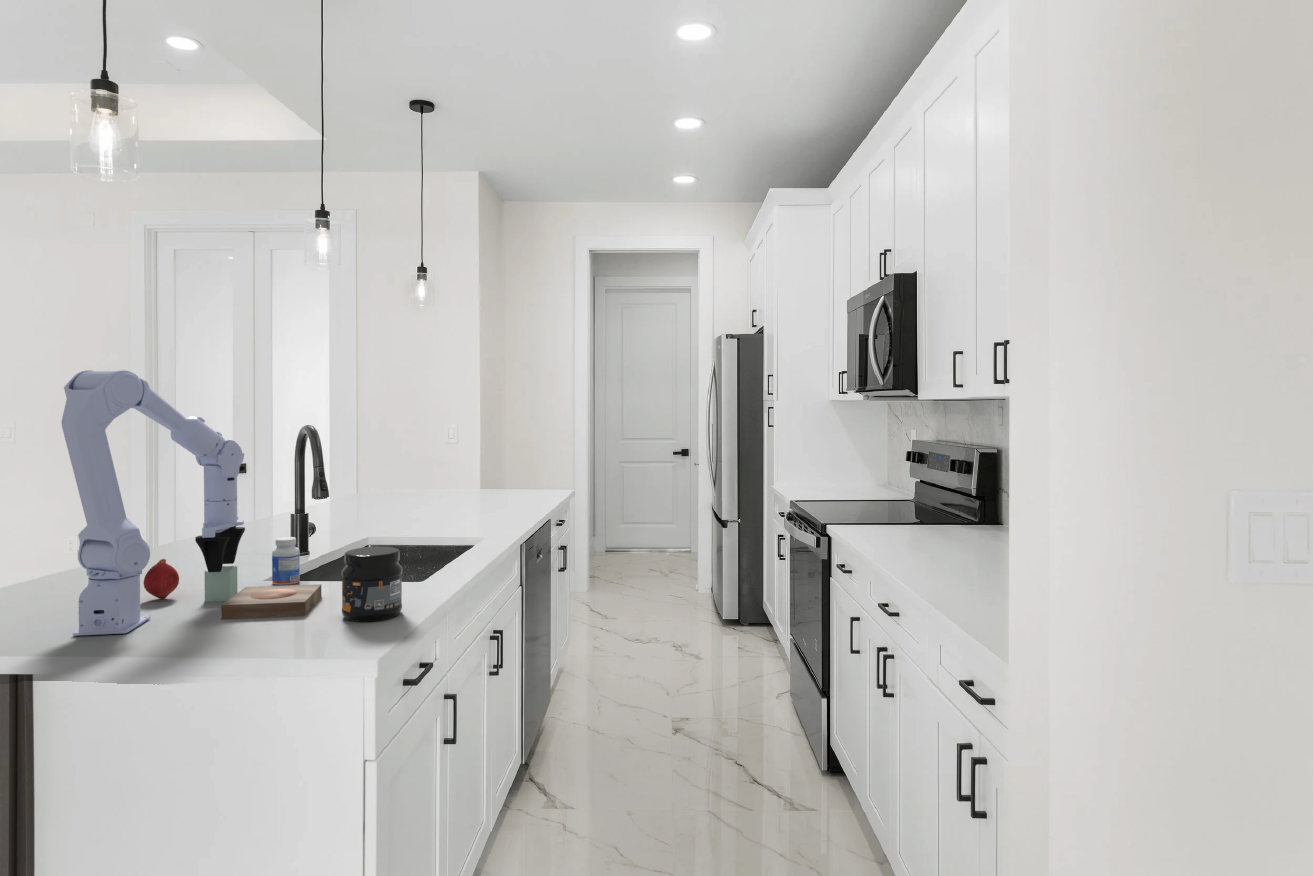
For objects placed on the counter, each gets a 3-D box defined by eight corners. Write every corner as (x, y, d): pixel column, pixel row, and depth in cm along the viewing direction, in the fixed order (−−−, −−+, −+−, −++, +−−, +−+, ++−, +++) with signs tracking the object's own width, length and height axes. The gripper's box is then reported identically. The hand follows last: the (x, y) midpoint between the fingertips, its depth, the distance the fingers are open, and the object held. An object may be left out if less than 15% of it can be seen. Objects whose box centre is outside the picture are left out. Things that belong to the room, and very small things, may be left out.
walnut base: (305, 615, 138) (305, 601, 138) (221, 618, 135) (221, 604, 135) (321, 596, 152) (321, 584, 151) (245, 599, 148) (245, 586, 148)
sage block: (230, 600, 148) (229, 570, 147) (204, 601, 147) (204, 571, 146) (237, 595, 152) (237, 565, 152) (212, 596, 151) (212, 566, 151)
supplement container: (342, 610, 142) (342, 547, 141) (401, 606, 145) (401, 544, 145) (340, 625, 132) (340, 558, 131) (403, 620, 136) (403, 554, 135)
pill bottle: (272, 581, 164) (272, 537, 164) (299, 579, 167) (299, 535, 166) (271, 586, 159) (271, 541, 159) (299, 584, 162) (299, 539, 161)
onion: (150, 604, 144) (150, 563, 144) (139, 599, 147) (138, 559, 147) (184, 598, 148) (183, 558, 148) (172, 594, 152) (171, 554, 152)
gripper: (230, 504, 142) (231, 574, 143) (253, 495, 157) (254, 559, 157) (189, 504, 141) (190, 576, 141) (216, 495, 155) (217, 560, 156)
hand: (221, 567), depth 149 cm, fingers open, 7 cm apart
